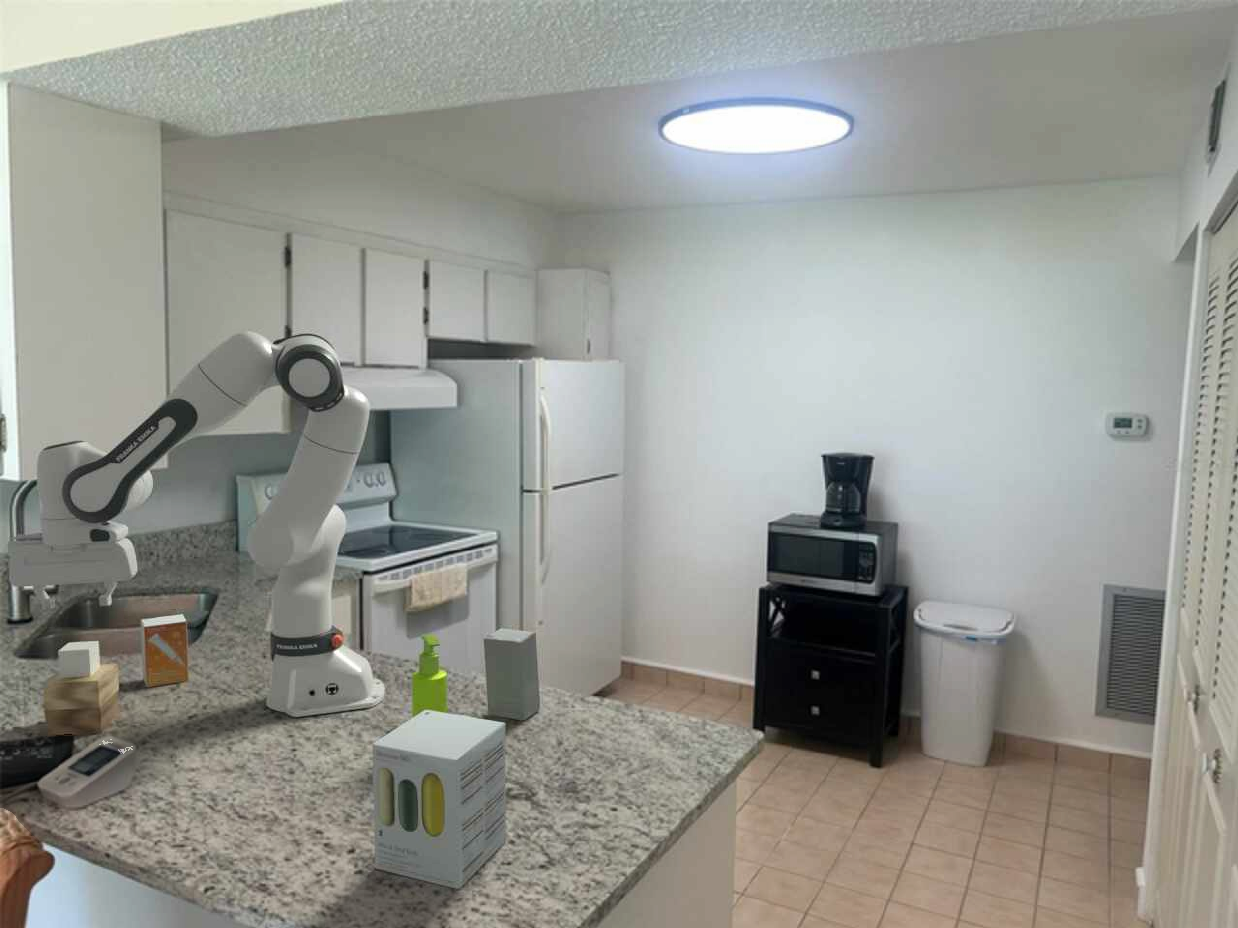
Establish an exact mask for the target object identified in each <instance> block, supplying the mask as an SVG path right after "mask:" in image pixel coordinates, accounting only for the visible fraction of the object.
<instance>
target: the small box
mask: <svg viewBox="0 0 1238 928" xmlns="http://www.w3.org/2000/svg"><path fill="white" fill-rule="evenodd" d="M187 624H188V623H187V620H186V618H185V616H184V614H182V613H180V614H176V615H175V614H174V615H173V614H172V615H166V616H158V617H157V616H156V617H153V618H144V619H143V618H142V619H140V636H141V639H140V641H141V657H142V658H141V660H142V677H143V678H142V679H143V680H144V681H143V682H144V684H145V687H146V688H152V687H157V686H162V685H170V684H171V685H172V684H176V683H177V684H178V683H183V682H189V681H190V677H189V676H190V674H189V649H188V648H189V647H188V625H187Z"/></svg>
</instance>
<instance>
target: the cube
mask: <svg viewBox="0 0 1238 928" xmlns="http://www.w3.org/2000/svg"><path fill="white" fill-rule="evenodd" d="M57 652H58V653H57V654H58V668H59V670H58V671H59V672H60V678H70V677H86V676H91V675H92V674H93V673H94V672H96V671H97V670H98V669H99V668H100V665H101V660H100V642H99V640H94V641H90V640H89V641H75V642H74V641H72V642H67V643H66V644H65V645H64V646H63V647H62V648H60V649H59V650H58V651H57Z"/></svg>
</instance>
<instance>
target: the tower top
mask: <svg viewBox="0 0 1238 928" xmlns="http://www.w3.org/2000/svg"><path fill="white" fill-rule="evenodd" d="M118 669H119V668H118V663H110V664H108V663H106V664H100V668H99V669H98V670H97V671H96V672H94V673H93V674H92V675H91V676H86V677H70V678H60V672H59V670H58V671H57V672H55V674H53V675H52V676H50V677H49V678H48V679H47V680H46V679H45V681H44V682H43V683H42V690H43V691H42V693H43V705H44V706H43V707H44V711H45V710H64V709H84V708H100V707H101V706H102V705H103V704H104V703H105V702H106V701H107V700H108V699H109V698H110V697H112V696H113V695H114V694H115V693H116V692H117V691H118V692H119V690H120V685H119V683H120V682H119V670H118Z"/></svg>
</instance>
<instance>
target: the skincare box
mask: <svg viewBox="0 0 1238 928" xmlns="http://www.w3.org/2000/svg"><path fill="white" fill-rule="evenodd" d="M537 647H538V646H537V632H536V631H527V630H517V629H510V628H504V627H503V628H502V627H501V628H499V629H497V630H496V631H494V632H492V633H489V634H488V635H486V636H485V637H484V638H483V650H484V651H483V652H484V661H485V662H484V663H485V664H484V665H485V682H486V699H487V714H488V716H493V717H499V718H506V719H513V720H518V721H526V720H527V719H529V717H531V716H532V715H534V714H535V713H537V712H539V711H540V708H541V700H540V698H541V697H540V696H541V695H540V685H539V684H540V683H539V682H540V681H539V666H538V665H539V663H538V649H537Z"/></svg>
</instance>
